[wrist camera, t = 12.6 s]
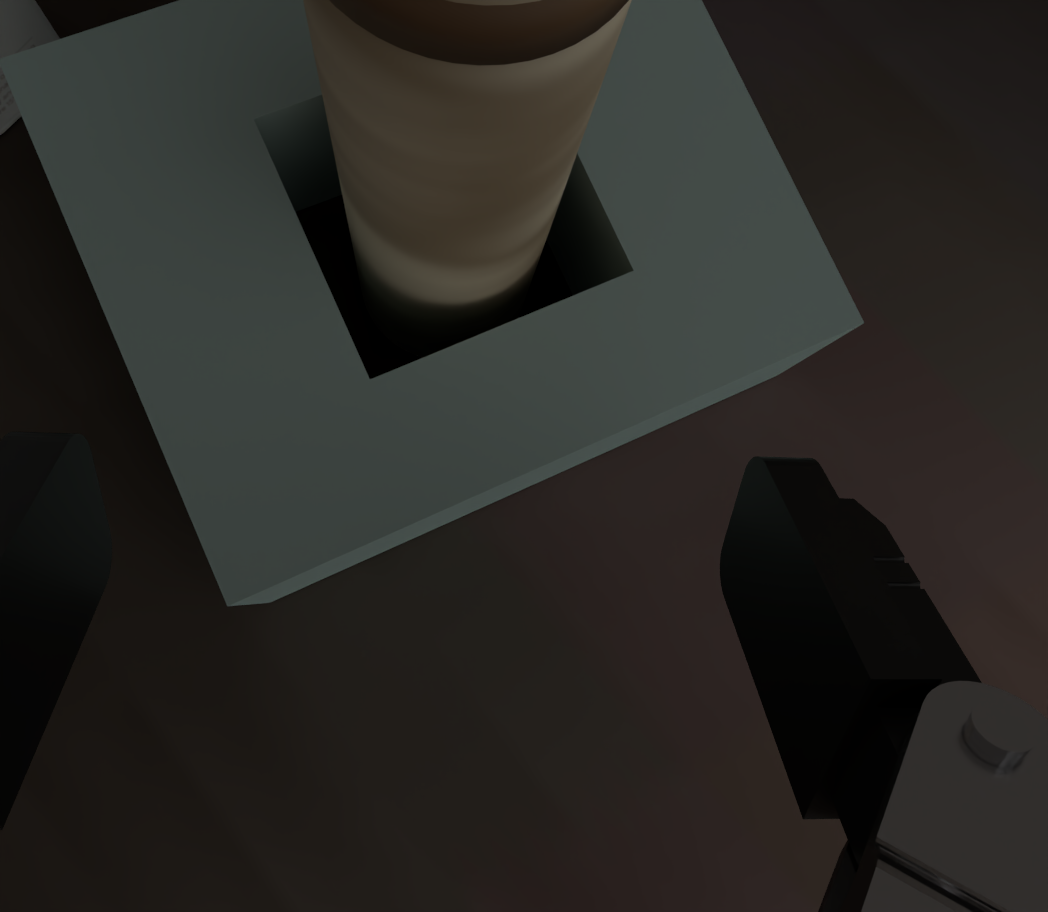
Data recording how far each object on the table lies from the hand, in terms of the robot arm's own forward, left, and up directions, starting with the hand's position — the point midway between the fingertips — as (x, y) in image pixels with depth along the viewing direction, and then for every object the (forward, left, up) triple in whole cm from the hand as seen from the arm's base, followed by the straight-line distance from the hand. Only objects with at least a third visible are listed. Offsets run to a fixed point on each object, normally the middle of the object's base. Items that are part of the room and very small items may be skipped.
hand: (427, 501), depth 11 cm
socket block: (-3, -5, -8) cm, 9 cm away
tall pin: (-3, -5, -8) cm, 9 cm away
